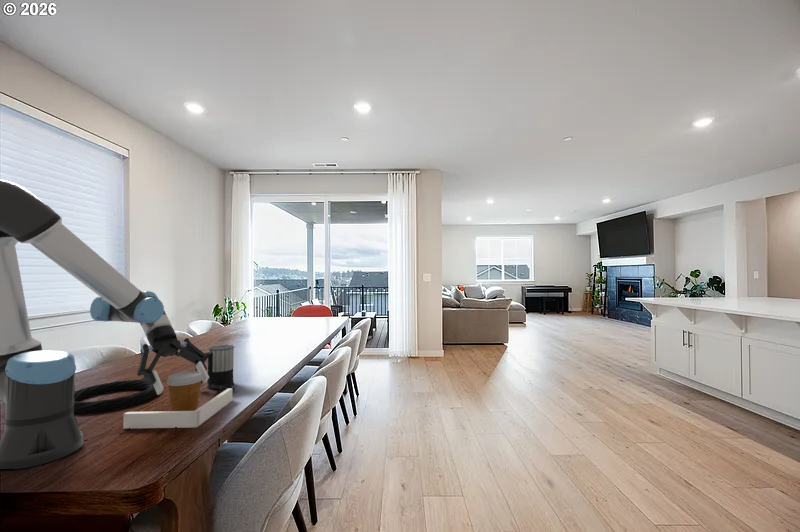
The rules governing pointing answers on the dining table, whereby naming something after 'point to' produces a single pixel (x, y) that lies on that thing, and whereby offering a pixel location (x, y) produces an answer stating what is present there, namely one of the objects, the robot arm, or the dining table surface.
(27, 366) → the robot arm
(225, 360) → the milk frother
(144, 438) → the dining table surface
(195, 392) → the disposable coffee cup
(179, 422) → the bracket
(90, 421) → the dining table surface
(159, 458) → the dining table surface
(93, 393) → the cable lock
